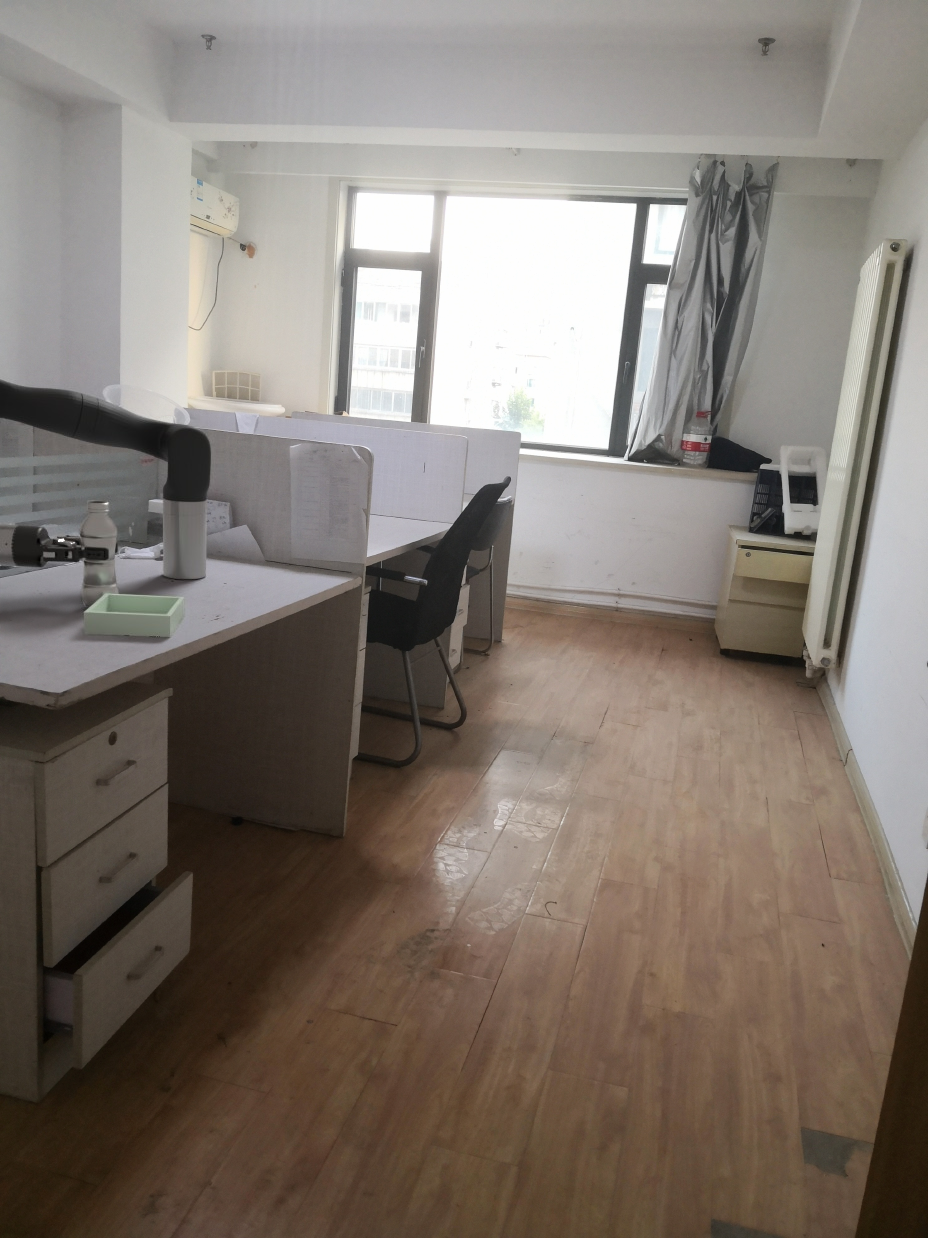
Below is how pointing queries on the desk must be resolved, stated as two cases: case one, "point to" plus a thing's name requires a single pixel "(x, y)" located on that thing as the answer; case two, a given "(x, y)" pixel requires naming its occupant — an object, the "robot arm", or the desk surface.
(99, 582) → the plastic bottle
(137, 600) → the green tray
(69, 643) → the desk surface
